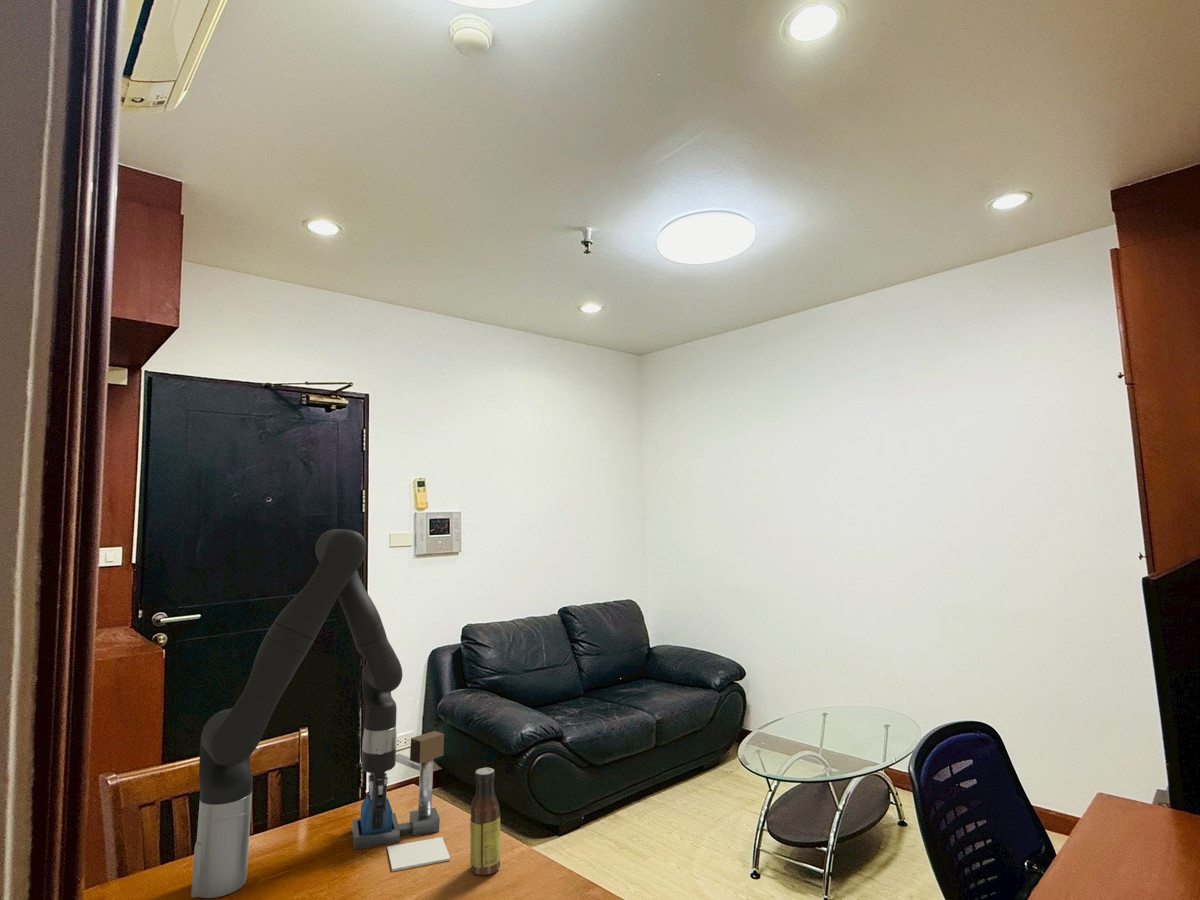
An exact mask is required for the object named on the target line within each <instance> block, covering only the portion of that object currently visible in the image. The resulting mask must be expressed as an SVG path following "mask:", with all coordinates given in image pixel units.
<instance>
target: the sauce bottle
mask: <svg viewBox="0 0 1200 900" xmlns="http://www.w3.org/2000/svg"><path fill="white" fill-rule="evenodd" d="M495 773H496V772H495V769H494V768H493V767H492V768H491V767H482V768H478V769H476V770H475V774H474V778H475V795H474V796H473V798H472V800H471V803H470V825H469V826H470V834H469V835H470V837H469V839H470V855H469V856H470V866H471V871H472V872H473V874H476V875H479V876H490V875H492V874H495V873H496V872H498V870H499V868H500V866H501V857H502V856H501V855H502V854H501V813H500V811H501V810H500V804H499V801H498V799H497V796H496V793H495V786H494V785H495V783H494V781H495V780H494V779H495V777H496V774H495Z"/></svg>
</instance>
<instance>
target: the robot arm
mask: <svg viewBox="0 0 1200 900" xmlns="http://www.w3.org/2000/svg"><path fill="white" fill-rule="evenodd" d="M314 550H315V556H316V557H317V560H318V561H319V563H318V565H317V567H316V569H315V571H314V572H313V574H312V576H311V578H310V579H309V580H308V581H307V583H306V584H305V586H304V587H303V588H302V589H301V590H300V591H299V592H298V593H297V594H296V595H295V596H294V597H293V598H292V599H291V600H290V601H289V602H288V603H287V604H286V606H284V608H283V609H282V610H281V611H280V613H279V614H278V615H277V616H276V618H275V619H274V621H273V623H272V625H271V626H270V628H269V629H268V630H267V631H266V634H265V636H264V638H263V639H262V641H261V643H260V645H259V647H258V650H257V653H256V656H255V658H254V662H253V665H252V667H251V671H250V675H249V678H248V681H247V683H246V686H245V687H244V689H243V691H242V693H241V695H240V697H239V698H238V700H236V703H235V704H234V706H233V707H232V708H226V709H222V710H220V711H218V712H217V713H215V714H214V715H212V716H211V717H210V718H209V719H208V720H207V722H206V723H205V725H204V727H203V728H202V732H201V735H200V741H199V742H200V744H199V764H198V765H199V766H198V782H199V783H198V784H199V806H198V808H199V809H198V819H197V833H196V842H195V845H194V849H193V850H194V851H193V852H194V854H193V862H192V863H193V867H192V878H191V880H192V881H191V895H190V898H193V899H194V898H200V899H201V898H202V899H215V898H221V897H224V896H226V895H229V894H232V893H234V892H236V891H238V890H239V889H241V888H242V887H243V886H244V885H246V883H247V878H248V868H249V867H248V864H249V863H248V862H249V849H250V848H249V847H250V833H251V832H250V831H251V818H252V817H251V816H252V798H253V784H254V783H253V782H254V780H253V779H254V778H253V774H252V769H251V768H252V767H251V762H250V761H251V759H250V757H251V755H252V754H253V753H254V752H255V750H256V749H257V747H259V746H258V745H259V743H260V742H261V739H262V737H263V736H264V733H265V731H266V728H267V727H268V724H269V722H270V720H271V717H272V715H273V713H274V710H276V706H277V705H278V703H279V701H280V698H281V697H282V696H283V694H284V692H285V691H286V689H287V687H288V686H289V684H290V682H291V681H292V679H293V677H294V676H295V674H296V672H297V671H298V668H299V667H300V666H301V664H302V662H303V660H304V659H305V658H306V656H307V654H308V652H309V651H310V649H311V647H312V645H313V643H314V641H315V640H316V638H317V636H318V634H319V632H320V630H321V628H322V626H323V625H324V623H325V622H326V620H327V618H328V616H329V614H330V613H331V610H332V608H333V607H334V605H335V603H336V601H337V600H338V601H339V603H340V606H341V608H342V610H343V613H344V616H345V618H346V621H347V625H348V627H349V630H350V633H351V636H352V640H353V642H354V646H355V648H356V650H357V652H358V654H359V655H361V656H362V657H363V658H364V661H365V662H366V663H365V666H364V668H363V670H362V675H361V683H362V684H361V685H362V686H361V687H362V692H363V693H362V694H363V700H364V705H365V712H364V729H363V735H362V748H361V749H362V751H361V769H362V771H363V772H365V773H369V774H368V793H369V795H370V800H371V801H372V802H373V808H372V811H373V822H372V828H373V829H374V830H375V829H381V828H382V827H383V812H384V811H385V809H386V807H385V805H386V797H387V798H388V796H387V795H388V791H387V788H388V786H387V785H388V783H389V782H388V779H389V778H388V776H387V773H386V772H388V771H391V770H392V769H393V768H395V766H396V763H397V762H396V755H397V739H398V738H397V703H396V701H395V699H394V698H393V696H392V692H393V691H395V690H396V689H397V688H398V687H399V686H400V685H401V683H402V680H403V669H402V664H401V662H400V660H399V658H398V656H397V654H396V652H395V651H394V648H393V647H392V645H391V643H390V642H389V639H388V636H387V633H386V631H385V630H386V629H385V626H384V624H383V621H382V618H381V616H380V614H379V611H378V609H377V606H376V605H375V604H374V602H373V600H372V598H371V596H370V595H369V593H368V592H367V589H365V586H364V584H363V582H362V580H361V578H360V574H359V571H358V569H359V567H360V566H361V564H362V563H363V561H364V559H365V558H366V553H367V543H366V540H365V537H364V536H363V535H362V534H361V533H360V532H358V531H355V530H353V529H352V530H351V529H343V528H341V529H340V528H334V529H329V530H326V531H325V532H323V533H322V534H321V535H320V536H319V537H318V539H317V541H316V543H315V549H314ZM373 795H374V796H373ZM378 802H382V805H381V806H376V804H377V803H378Z"/></svg>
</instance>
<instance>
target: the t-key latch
mask: <svg viewBox="0 0 1200 900" xmlns="http://www.w3.org/2000/svg"><path fill="white" fill-rule="evenodd" d="M444 744H445V733H443V732H439V731H436V730H433V731H430V732H426V733H424V734H420V735H417V736H414V737H411V738H410V748H409V749H410V751H409V753H410V754H409V756H406V755H404V754H400V753H398V754H397V753H396V763H398V764H401V765H404V766H405V767H409V768H411V769H414V770H416V771H419V780H418V781H419V783H418V784H419V785H418V806H417V808H418V809H417V810H418V815H419V816H428V815H430V814H431V808H432V807H433V806H432V804H433V803H432V801H433V779H434V778H433V776H434V775H433V774H434V759H437V758H440V757H443V756H444V748H445V747H444V746H445V745H444Z"/></svg>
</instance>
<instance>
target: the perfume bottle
mask: <svg viewBox="0 0 1200 900" xmlns="http://www.w3.org/2000/svg"><path fill="white" fill-rule="evenodd" d="M373 796H374V795H373ZM381 805H382V802H378V803H377V804H376V806H381ZM385 807H386V809H385V811H384V812H383V827H382V828H381V829H375V830H374V829H373V828H372V822H373V811H372V808H373V802H372V801H371V800H370V794H367V795H366V796H365V798H364V800H363V801H362V802H361V805H360V817H359V818H360V831H359V835H364V834H370V833H376V832H382V831H388V830H392V813H393V809H392V806H391V803H390V801H389V798H388V796H387V797H386V805H385Z"/></svg>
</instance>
